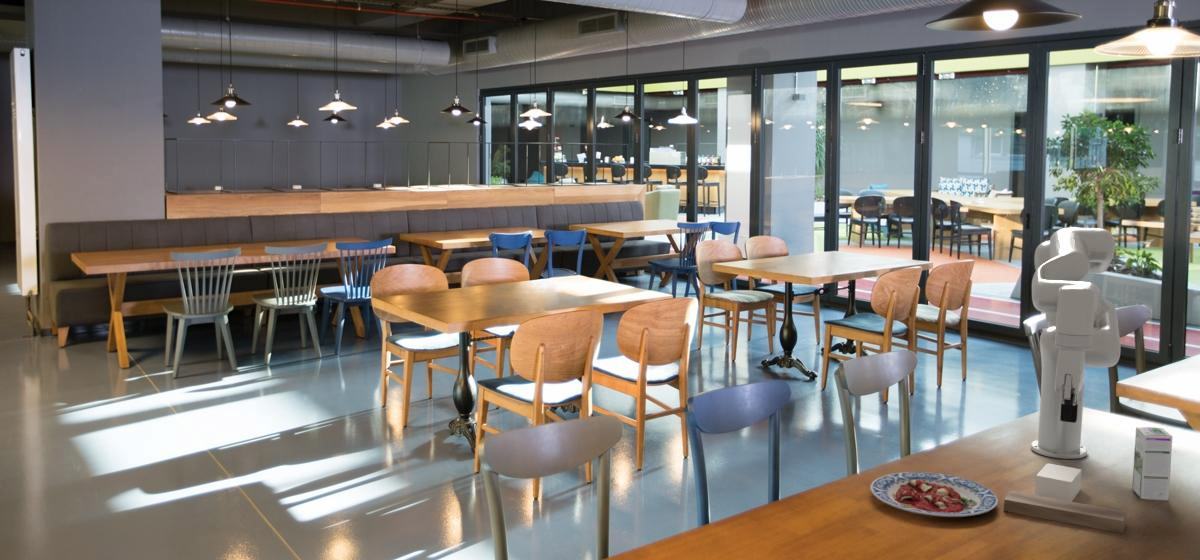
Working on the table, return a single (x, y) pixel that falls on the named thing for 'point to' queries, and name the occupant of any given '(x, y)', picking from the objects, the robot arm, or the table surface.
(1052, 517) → the plank
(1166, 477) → the syrup box
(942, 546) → the table surface
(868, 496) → the table surface
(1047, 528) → the table surface
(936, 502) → the ceramic plate
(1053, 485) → the block
